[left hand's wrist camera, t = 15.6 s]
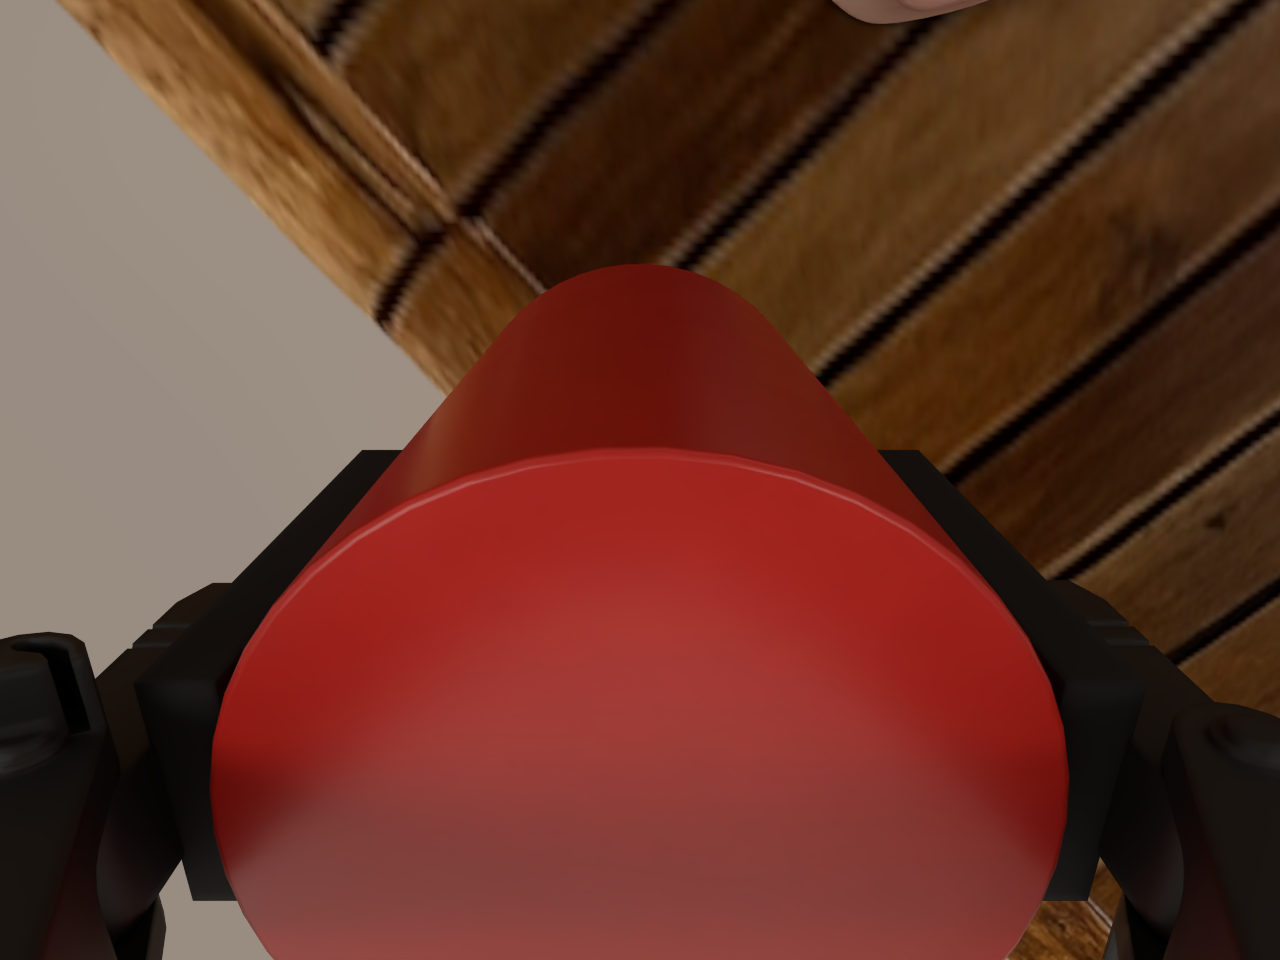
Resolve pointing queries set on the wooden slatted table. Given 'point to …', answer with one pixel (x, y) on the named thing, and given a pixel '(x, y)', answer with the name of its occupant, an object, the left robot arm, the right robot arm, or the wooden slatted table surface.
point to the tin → (639, 676)
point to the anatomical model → (900, 9)
